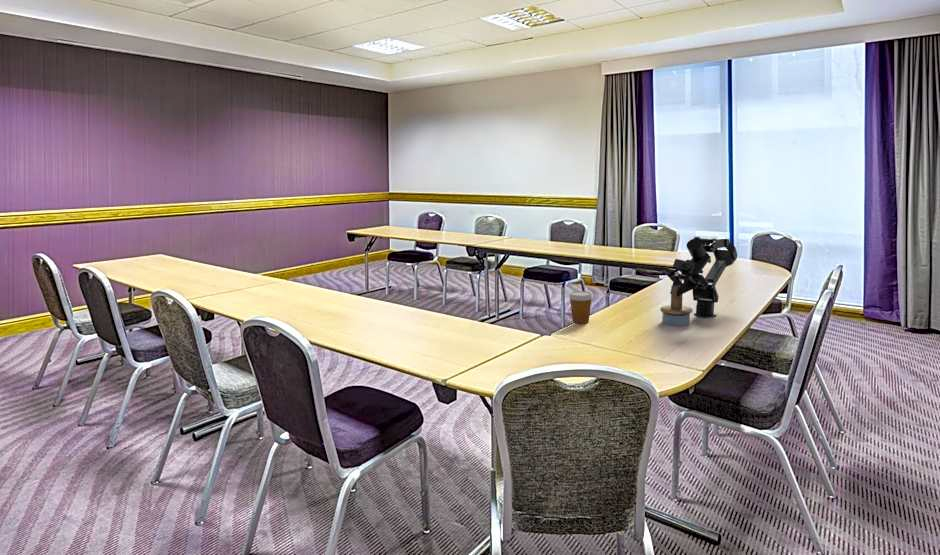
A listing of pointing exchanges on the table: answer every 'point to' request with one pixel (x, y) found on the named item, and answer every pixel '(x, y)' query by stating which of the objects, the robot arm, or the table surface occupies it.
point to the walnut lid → (676, 304)
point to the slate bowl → (676, 319)
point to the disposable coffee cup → (580, 306)
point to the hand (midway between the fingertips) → (673, 294)
